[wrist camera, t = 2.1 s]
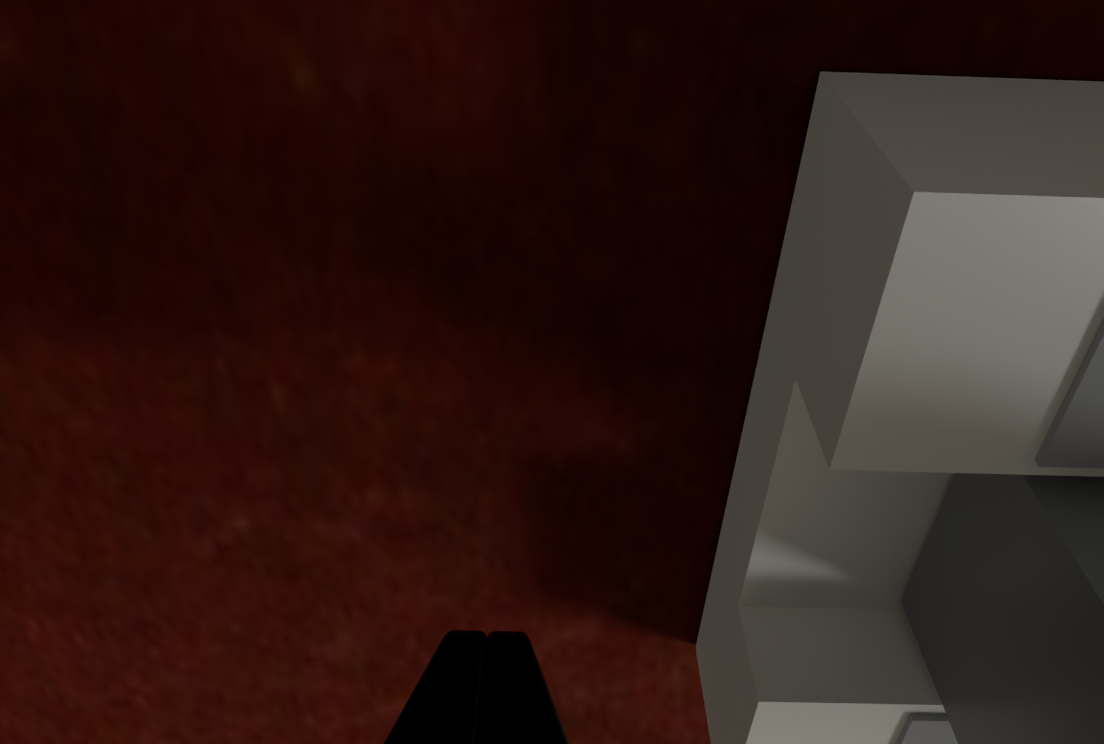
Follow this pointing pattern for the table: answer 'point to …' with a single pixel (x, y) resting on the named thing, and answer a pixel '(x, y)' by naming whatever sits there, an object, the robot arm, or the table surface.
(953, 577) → the switch tab
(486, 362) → the table surface
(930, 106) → the switch plate
